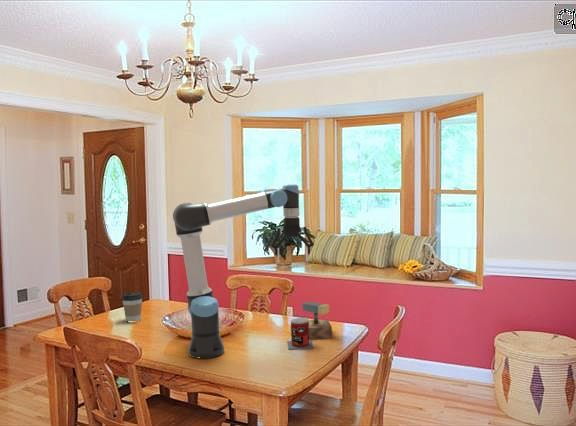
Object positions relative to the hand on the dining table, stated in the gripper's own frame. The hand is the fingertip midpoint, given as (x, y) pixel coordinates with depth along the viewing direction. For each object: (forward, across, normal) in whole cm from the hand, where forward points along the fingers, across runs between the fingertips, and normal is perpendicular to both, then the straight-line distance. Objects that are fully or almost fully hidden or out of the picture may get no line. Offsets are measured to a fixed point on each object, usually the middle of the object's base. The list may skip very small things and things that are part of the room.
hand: (292, 261), depth 239 cm
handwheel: (+29, +10, -3) cm, 31 cm away
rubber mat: (+35, +1, -18) cm, 39 cm away
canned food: (+34, +1, -18) cm, 39 cm away
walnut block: (+35, +10, -3) cm, 36 cm away
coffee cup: (+35, -85, +36) cm, 99 cm away
